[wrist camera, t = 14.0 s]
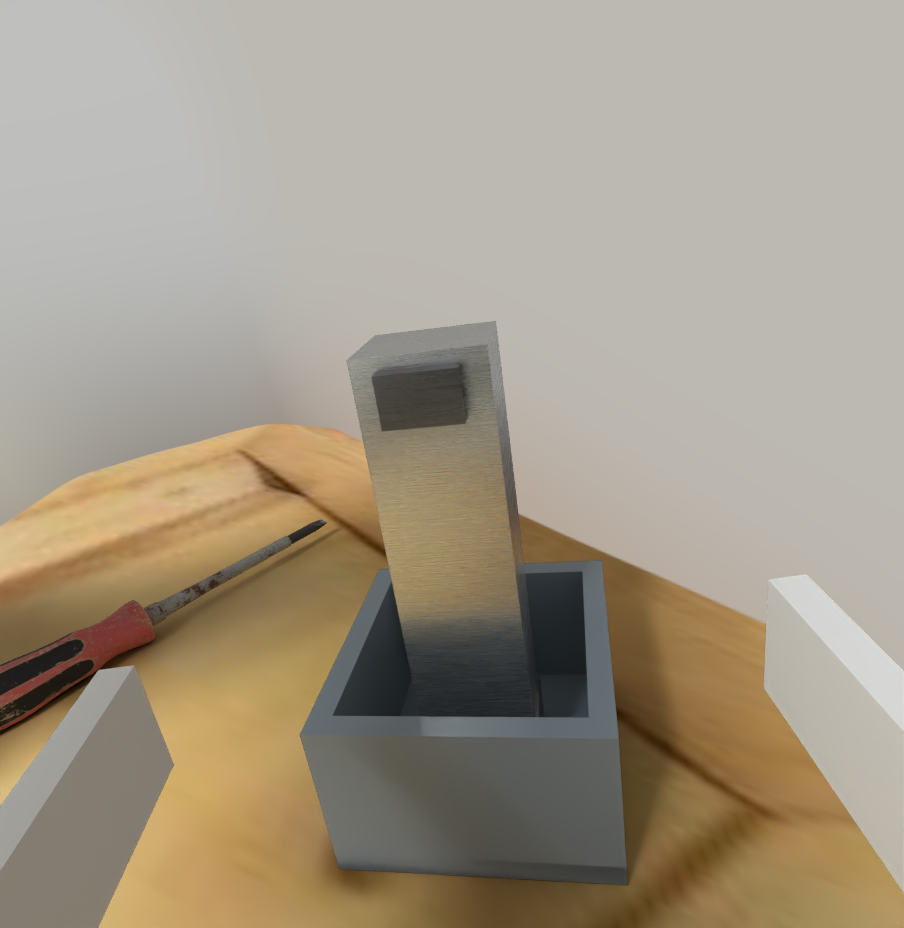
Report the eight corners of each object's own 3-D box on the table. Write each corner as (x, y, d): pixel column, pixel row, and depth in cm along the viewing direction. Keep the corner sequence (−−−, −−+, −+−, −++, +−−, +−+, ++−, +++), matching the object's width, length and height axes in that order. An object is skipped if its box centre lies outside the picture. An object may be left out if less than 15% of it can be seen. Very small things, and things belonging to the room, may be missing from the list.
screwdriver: (316, 535, 47) (306, 498, 46) (342, 544, 45) (332, 505, 44) (-100, 767, 31) (-129, 717, 30) (-86, 796, 29) (-117, 744, 28)
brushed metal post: (427, 794, 24) (336, 366, 18) (443, 712, 28) (372, 335, 22) (543, 795, 23) (488, 348, 17) (543, 710, 27) (499, 320, 21)
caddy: (339, 868, 22) (299, 734, 20) (402, 677, 31) (379, 569, 29) (627, 885, 21) (618, 738, 18) (609, 676, 29) (601, 560, 27)
